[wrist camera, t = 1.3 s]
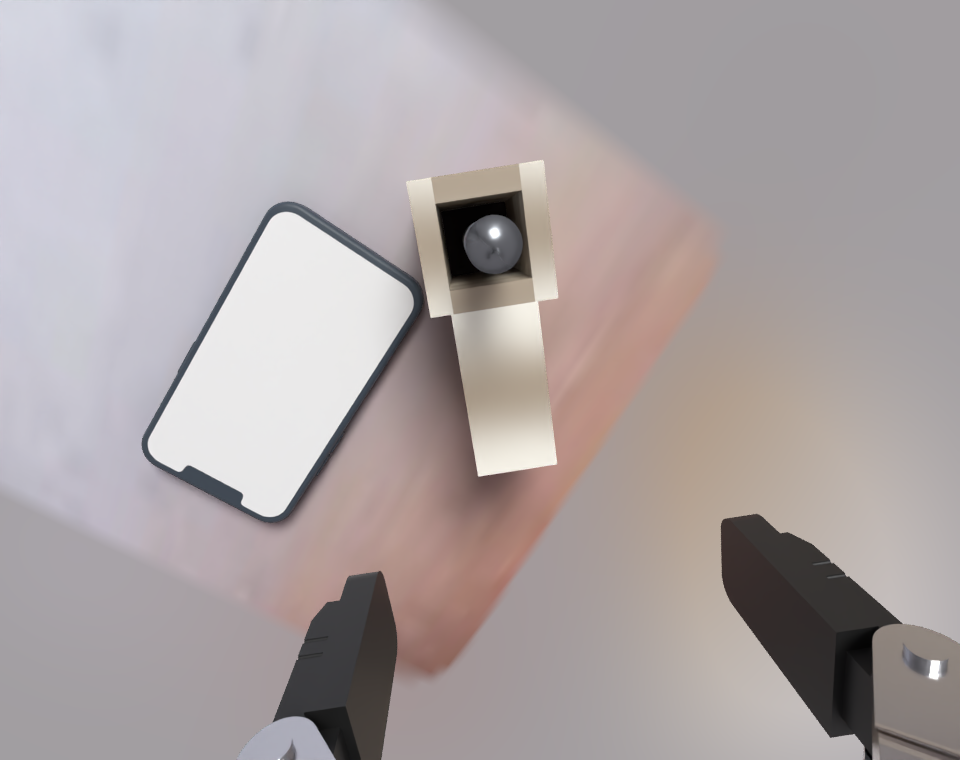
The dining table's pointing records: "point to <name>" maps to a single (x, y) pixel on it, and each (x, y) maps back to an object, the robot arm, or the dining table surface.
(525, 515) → the dining table surface
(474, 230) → the post
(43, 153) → the dining table surface
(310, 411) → the smartphone
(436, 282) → the open-ended tube with peg
